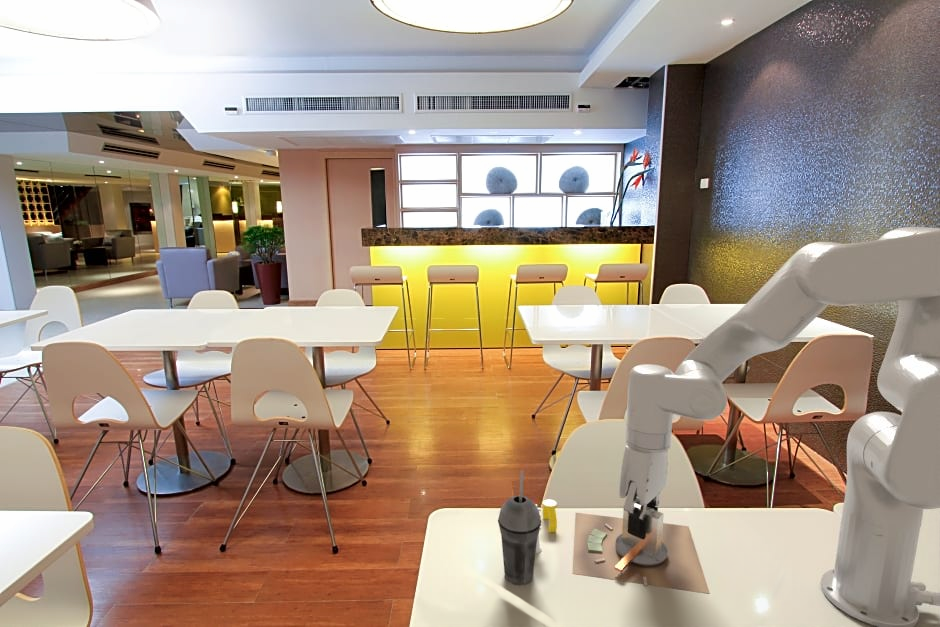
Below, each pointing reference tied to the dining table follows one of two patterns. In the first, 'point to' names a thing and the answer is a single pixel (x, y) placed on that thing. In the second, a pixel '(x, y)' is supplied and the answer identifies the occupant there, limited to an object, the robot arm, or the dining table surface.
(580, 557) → the board
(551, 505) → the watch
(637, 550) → the dial
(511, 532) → the beverage cup
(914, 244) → the robot arm
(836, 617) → the dining table surface
